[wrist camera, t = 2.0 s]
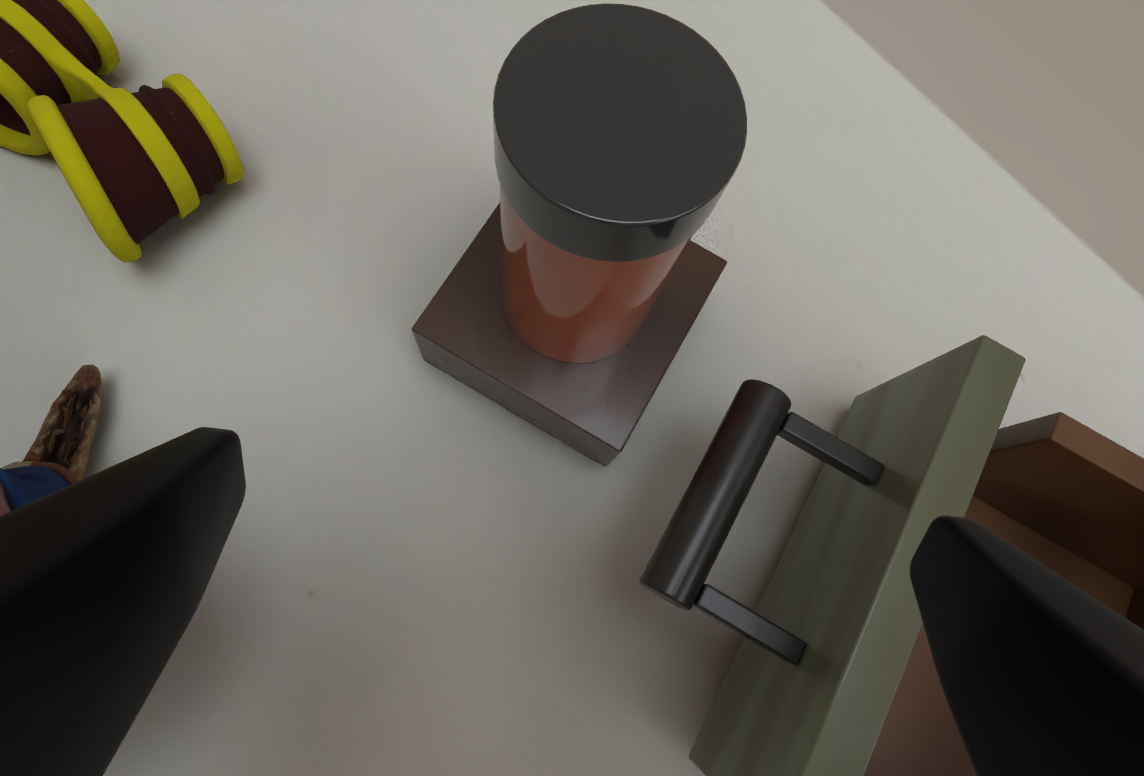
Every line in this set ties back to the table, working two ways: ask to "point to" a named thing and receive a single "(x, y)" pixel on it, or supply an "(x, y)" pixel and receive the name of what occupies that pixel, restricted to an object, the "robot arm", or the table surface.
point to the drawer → (886, 560)
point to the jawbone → (71, 424)
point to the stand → (545, 386)
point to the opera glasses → (106, 123)
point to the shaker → (606, 170)
